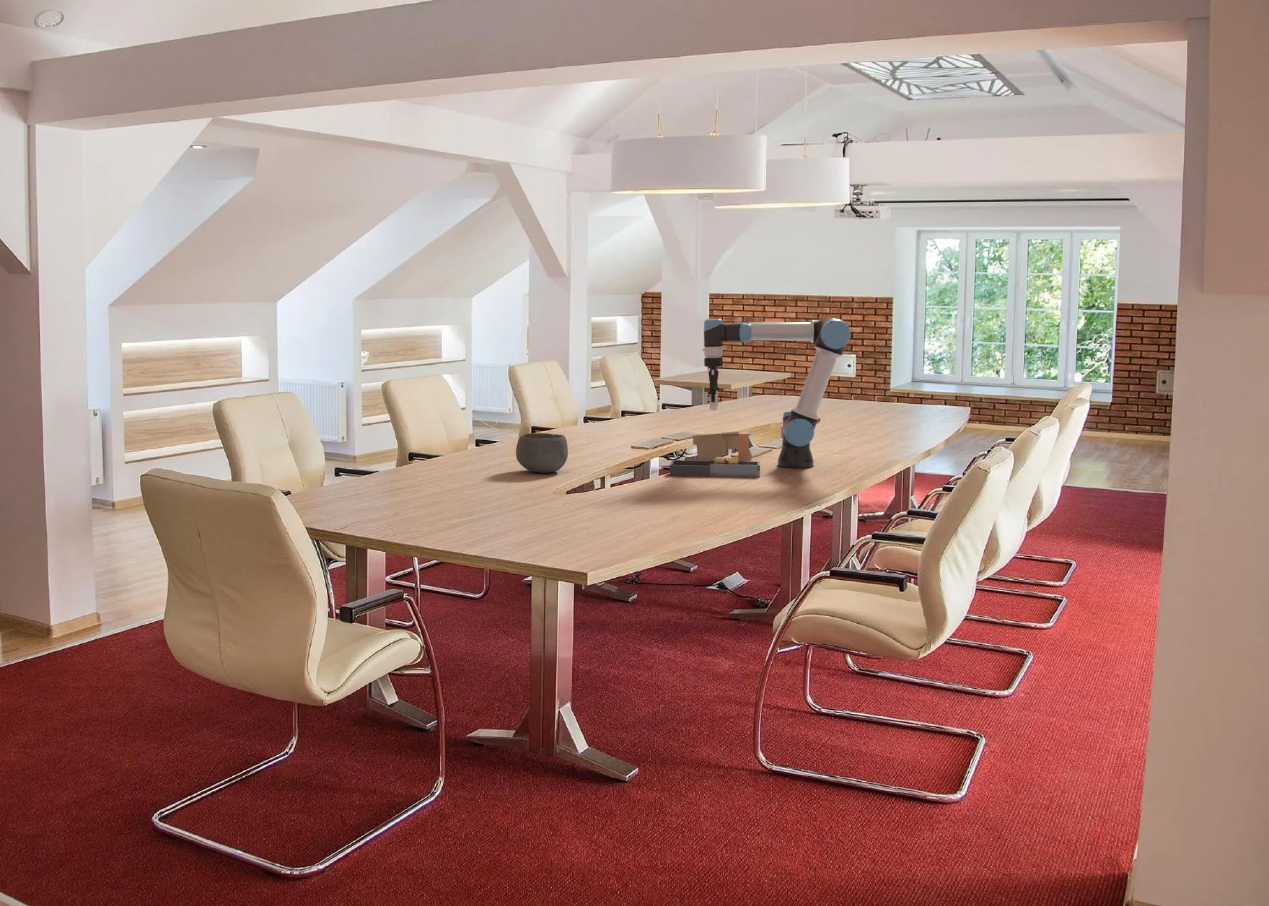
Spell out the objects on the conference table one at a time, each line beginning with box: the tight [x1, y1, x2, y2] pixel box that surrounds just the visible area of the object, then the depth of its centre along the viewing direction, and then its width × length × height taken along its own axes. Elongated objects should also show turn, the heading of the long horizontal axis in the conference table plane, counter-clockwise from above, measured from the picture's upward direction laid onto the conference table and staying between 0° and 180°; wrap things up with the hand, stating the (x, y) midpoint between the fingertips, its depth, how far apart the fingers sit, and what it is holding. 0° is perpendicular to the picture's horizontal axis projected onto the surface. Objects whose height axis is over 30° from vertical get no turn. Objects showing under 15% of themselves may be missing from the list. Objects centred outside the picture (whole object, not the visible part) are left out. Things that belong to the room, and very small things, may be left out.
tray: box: [669, 459, 711, 478], centre depth 494 cm, size 16×14×4 cm
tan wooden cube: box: [715, 456, 727, 464], centre depth 493 cm, size 4×4×4 cm
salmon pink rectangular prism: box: [737, 431, 750, 461], centre depth 502 cm, size 4×7×16 cm, turn 174°
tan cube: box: [726, 457, 738, 465], centre depth 492 cm, size 4×4×4 cm
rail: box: [710, 460, 761, 478], centre depth 492 cm, size 20×10×5 cm, turn 84°
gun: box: [692, 430, 753, 461], centre depth 515 cm, size 24×3×15 cm, turn 84°
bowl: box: [515, 432, 569, 474], centre depth 494 cm, size 21×21×15 cm
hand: (714, 408), depth 502 cm, fingers open, 13 cm apart
